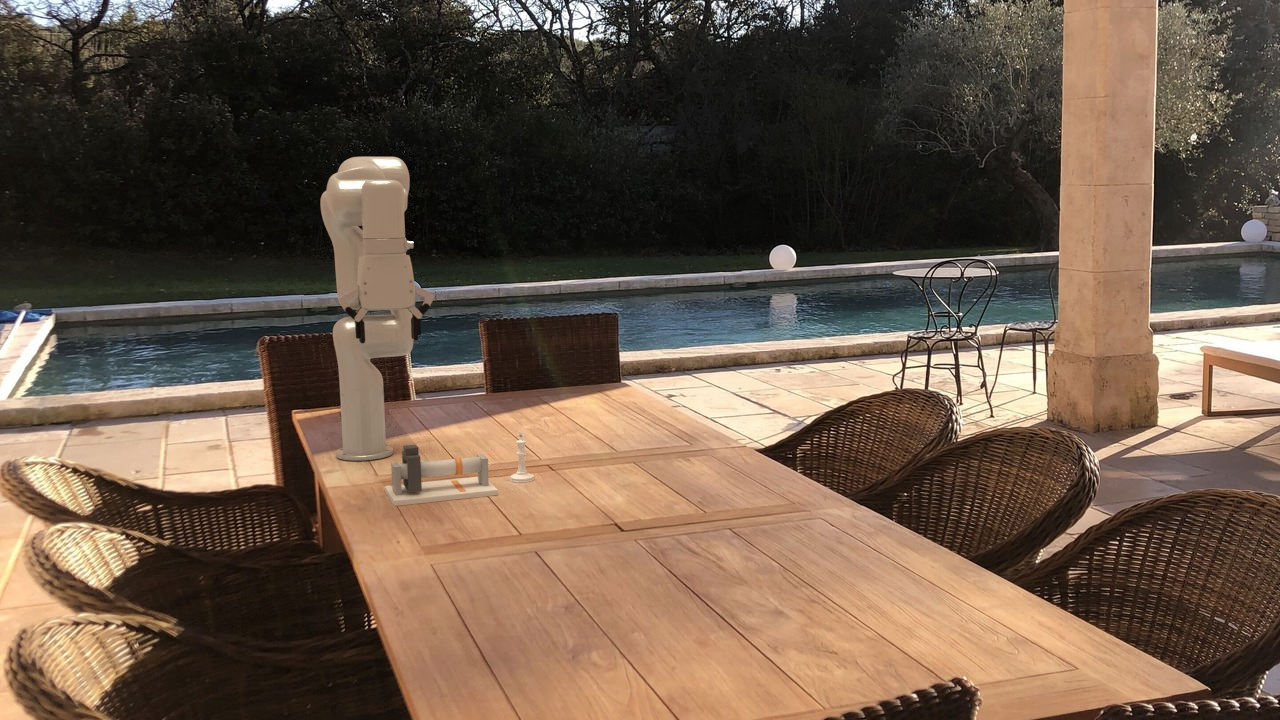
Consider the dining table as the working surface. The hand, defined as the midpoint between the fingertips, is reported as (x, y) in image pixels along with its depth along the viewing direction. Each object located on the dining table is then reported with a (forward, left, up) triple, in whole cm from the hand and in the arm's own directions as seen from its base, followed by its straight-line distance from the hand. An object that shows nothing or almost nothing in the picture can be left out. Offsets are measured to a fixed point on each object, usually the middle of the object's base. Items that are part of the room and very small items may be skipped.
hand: (388, 340), depth 208 cm
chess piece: (-9, +27, -31) cm, 42 cm away
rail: (-5, +10, -31) cm, 33 cm away
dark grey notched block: (-5, +4, -30) cm, 30 cm away
